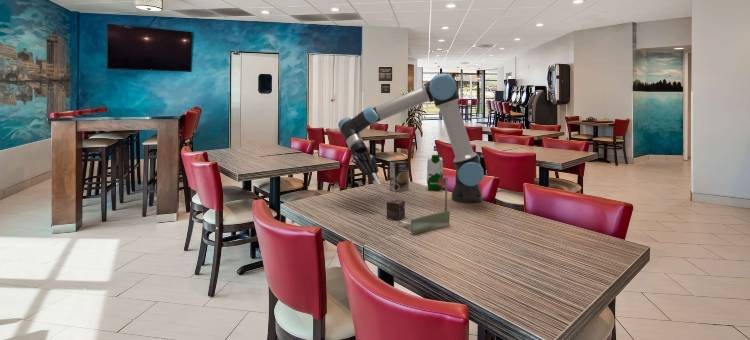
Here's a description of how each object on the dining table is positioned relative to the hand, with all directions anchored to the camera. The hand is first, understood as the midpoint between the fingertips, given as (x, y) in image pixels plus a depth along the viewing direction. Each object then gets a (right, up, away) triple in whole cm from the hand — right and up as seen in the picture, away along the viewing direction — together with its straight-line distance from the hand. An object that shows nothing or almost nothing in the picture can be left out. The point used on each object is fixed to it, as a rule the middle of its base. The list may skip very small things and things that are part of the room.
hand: (378, 186), depth 197 cm
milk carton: (+32, -4, +49) cm, 59 cm away
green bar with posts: (+17, -16, -19) cm, 29 cm away
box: (+7, -14, -7) cm, 17 cm away
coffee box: (+12, -4, +48) cm, 50 cm away
